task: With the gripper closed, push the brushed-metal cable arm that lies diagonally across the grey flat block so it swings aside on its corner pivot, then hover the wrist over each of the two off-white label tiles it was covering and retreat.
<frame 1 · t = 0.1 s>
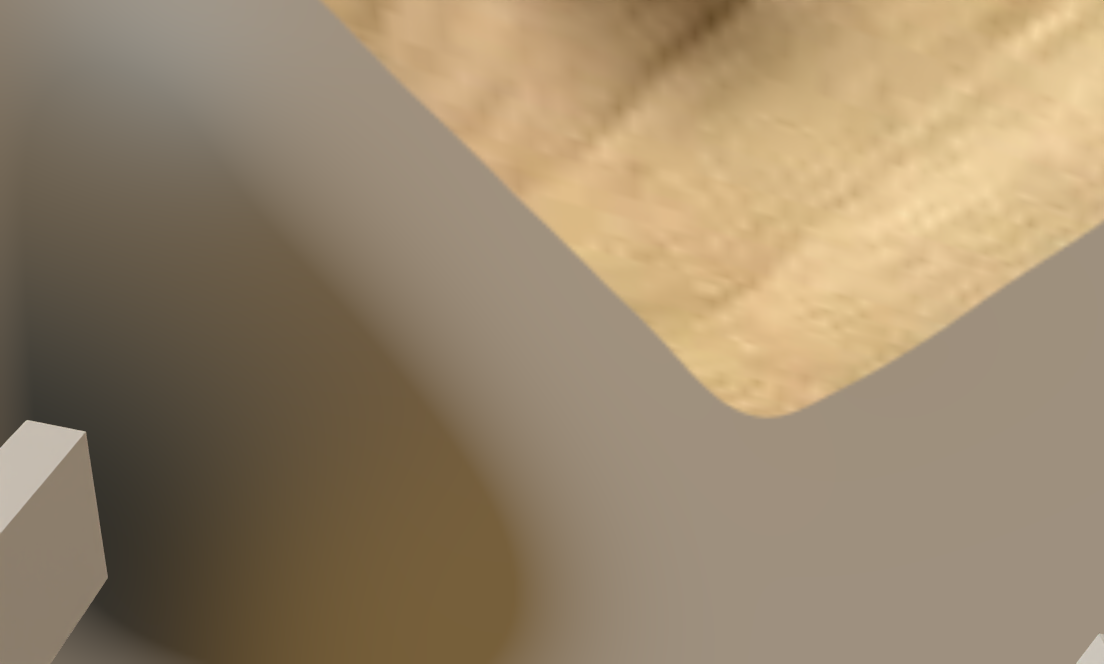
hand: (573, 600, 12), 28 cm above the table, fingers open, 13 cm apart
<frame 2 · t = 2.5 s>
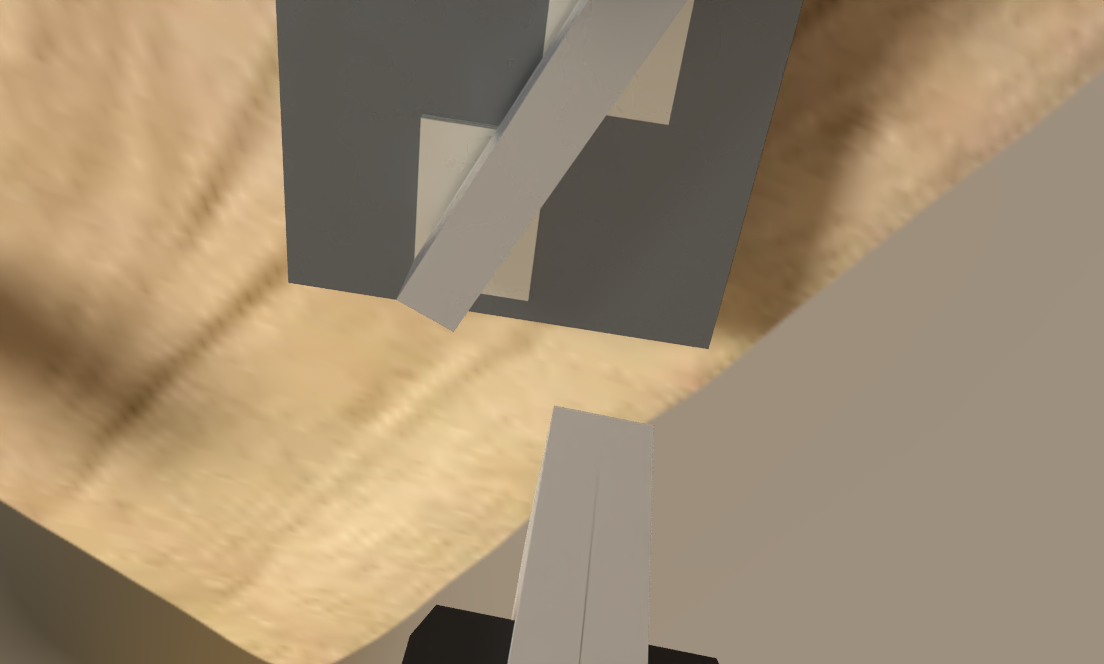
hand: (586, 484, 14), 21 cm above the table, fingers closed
cable arm: (601, 43, 24), point 7 cm above the table, hinge at -25.0°
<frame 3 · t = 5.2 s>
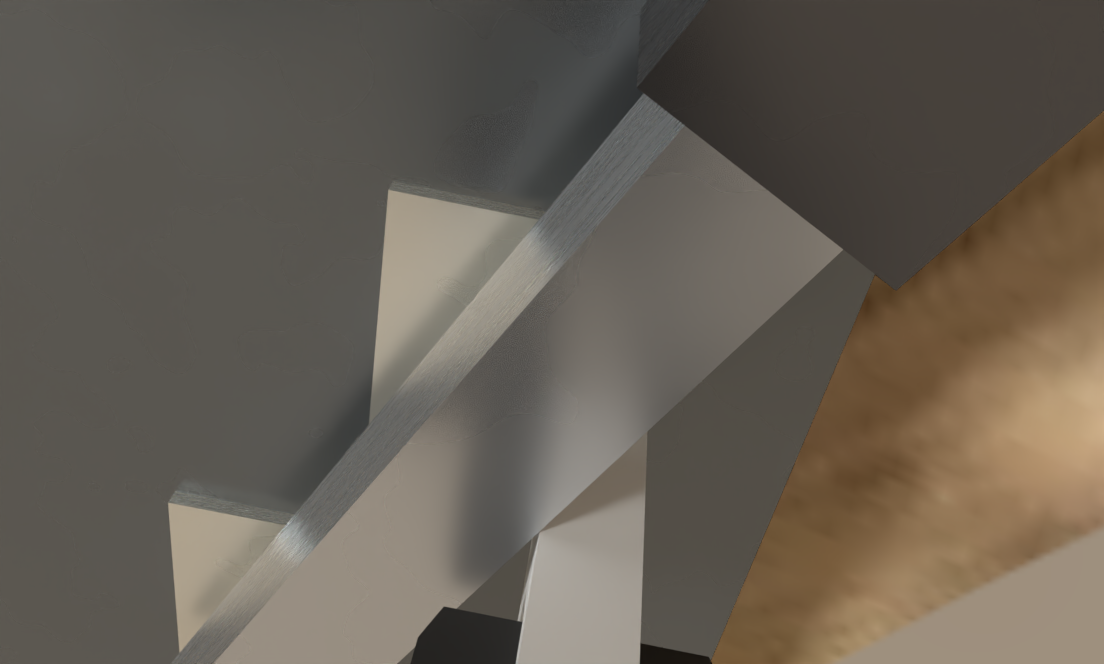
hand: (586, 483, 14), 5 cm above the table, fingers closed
cable arm: (435, 484, 13), point 7 cm above the table, hinge at -26.5°, touching gripper
grey flat block: (400, 276, 19), on the table
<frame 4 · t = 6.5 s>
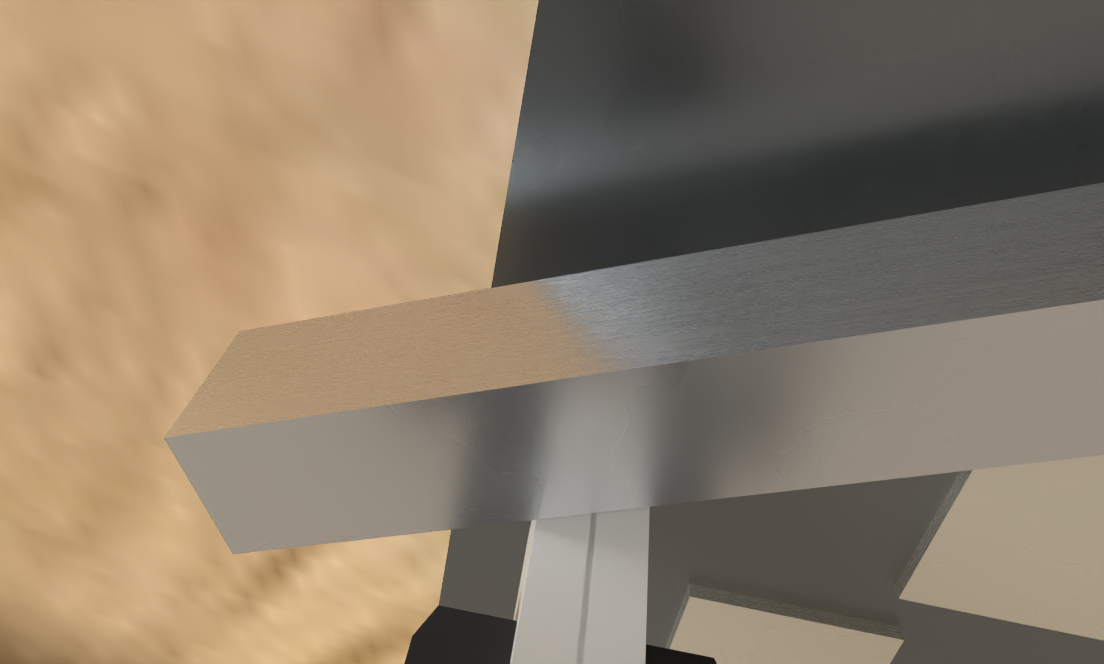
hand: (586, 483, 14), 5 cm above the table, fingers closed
cable arm: (973, 332, 11), point 7 cm above the table, hinge at -65.6°, touching gripper
grey flat block: (867, 363, 19), on the table
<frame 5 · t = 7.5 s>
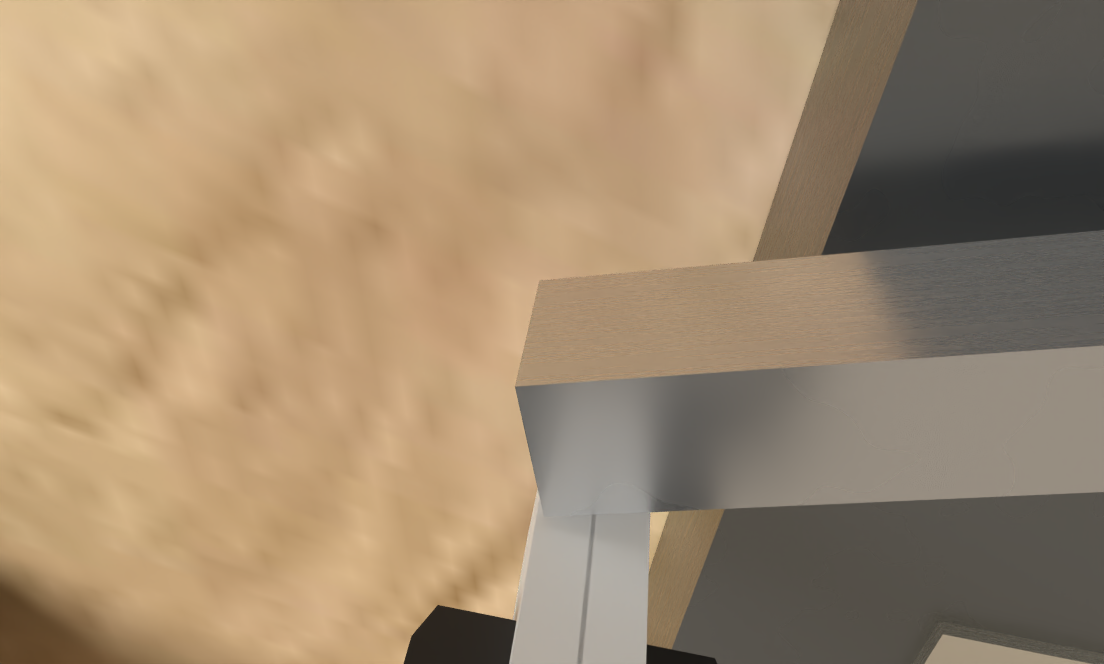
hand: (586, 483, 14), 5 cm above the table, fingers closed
grey flat block: (1093, 396, 19), on the table
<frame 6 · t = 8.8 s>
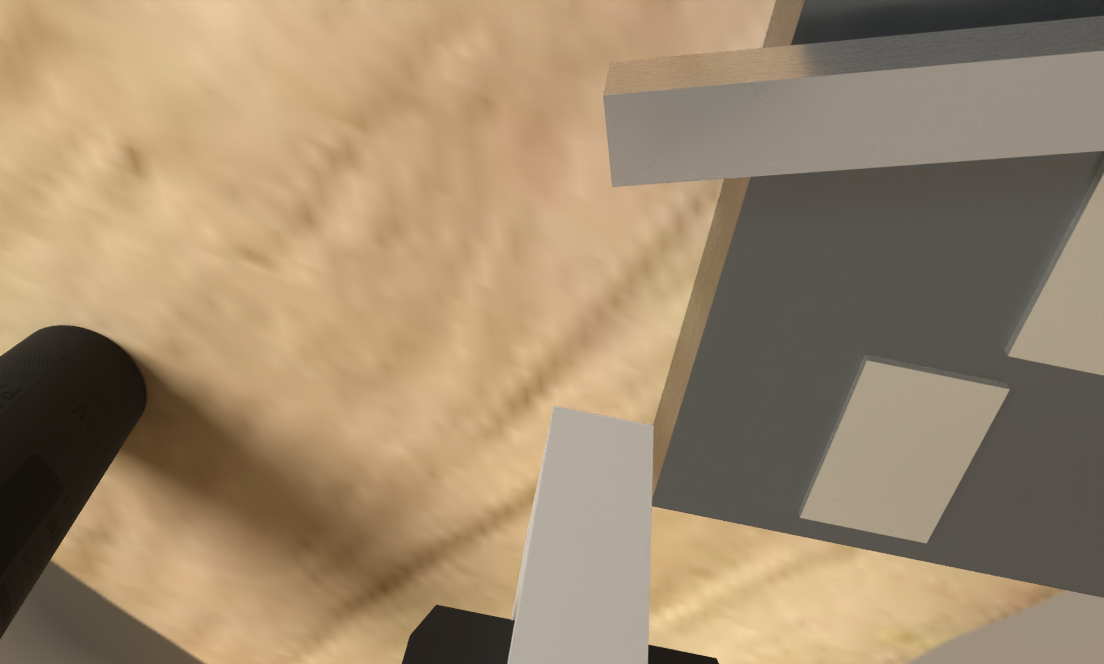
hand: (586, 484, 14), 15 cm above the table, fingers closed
cable arm: (1078, 83, 19), point 7 cm above the table, hinge at -73.3°
grey flat block: (975, 218, 27), on the table
drinking cup: (86, 376, 35), on the table
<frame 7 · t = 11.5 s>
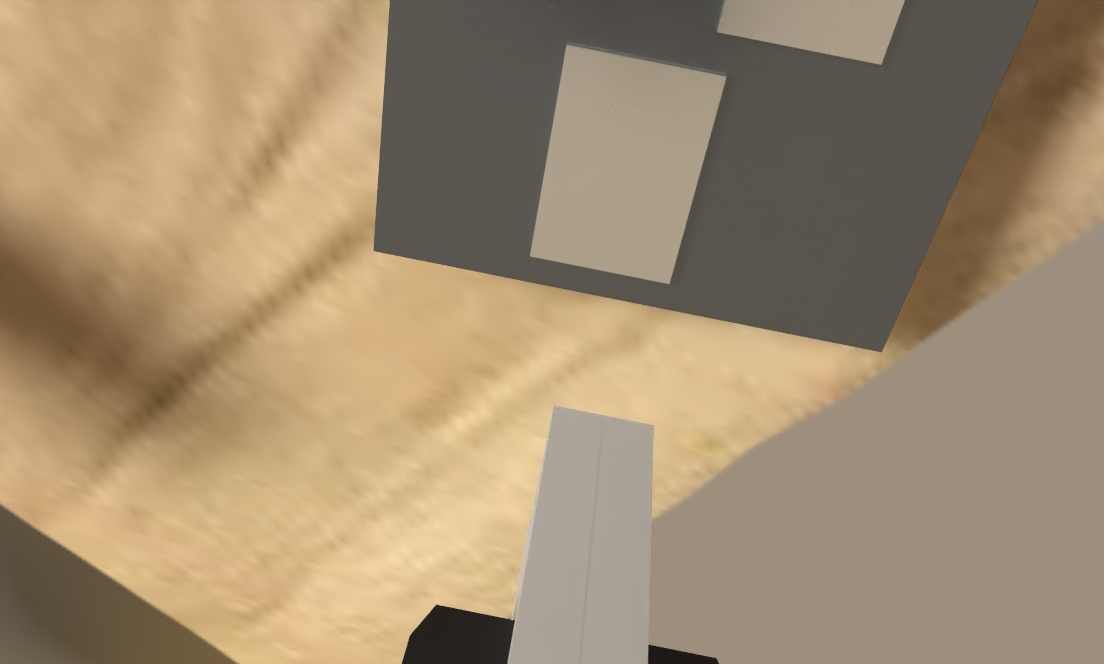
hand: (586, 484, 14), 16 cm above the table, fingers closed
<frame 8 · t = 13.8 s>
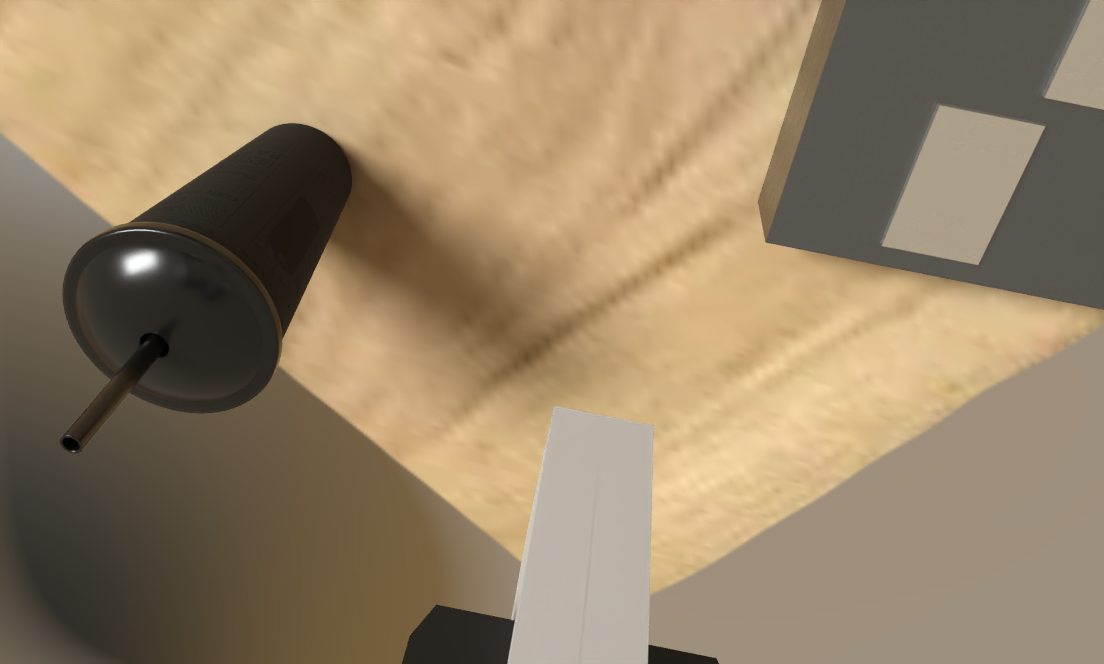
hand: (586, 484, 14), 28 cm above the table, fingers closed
grey flat block: (1018, 10, 36), on the table
drinking cup: (302, 169, 44), on the table
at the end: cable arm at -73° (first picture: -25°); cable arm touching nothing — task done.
